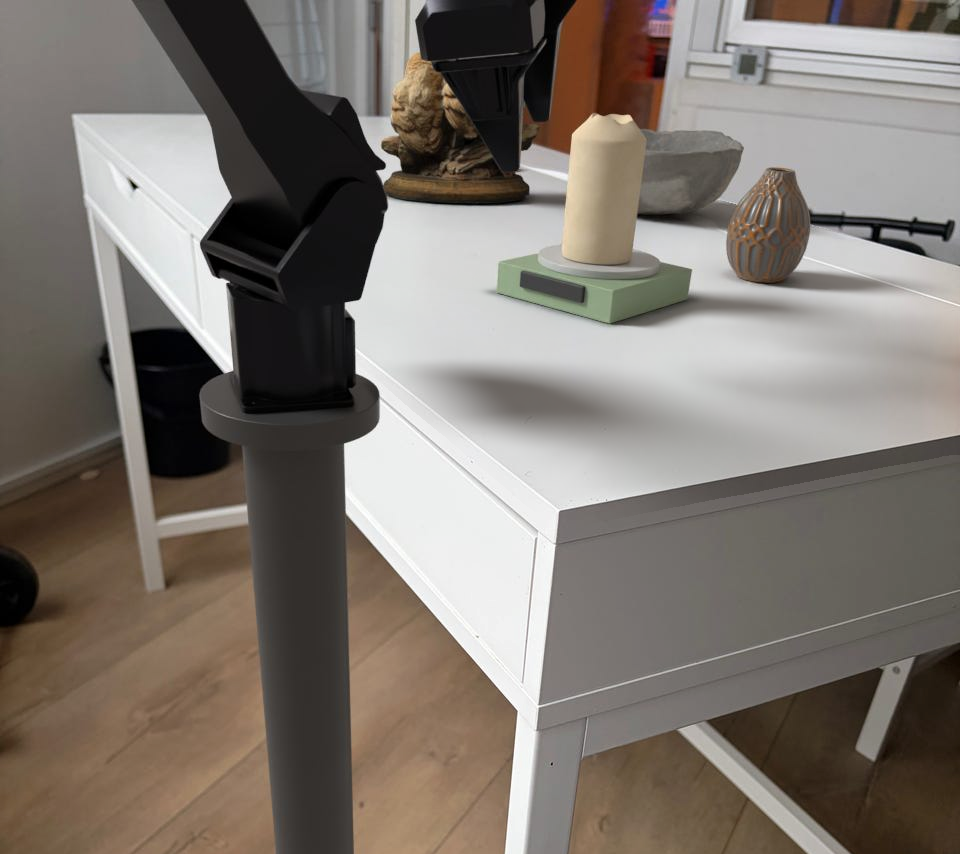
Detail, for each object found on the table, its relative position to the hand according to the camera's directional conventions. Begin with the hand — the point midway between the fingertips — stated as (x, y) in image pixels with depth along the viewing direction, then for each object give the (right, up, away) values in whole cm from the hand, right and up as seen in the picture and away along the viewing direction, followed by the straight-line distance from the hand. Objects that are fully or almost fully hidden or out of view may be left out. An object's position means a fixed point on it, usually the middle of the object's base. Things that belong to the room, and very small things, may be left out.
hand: (526, 145), depth 63 cm
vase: (+22, +1, +25) cm, 33 cm away
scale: (+6, -4, +17) cm, 18 cm away
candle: (+6, -2, +15) cm, 16 cm away
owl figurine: (-5, +20, +52) cm, 56 cm away
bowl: (+16, +17, +49) cm, 54 cm away
